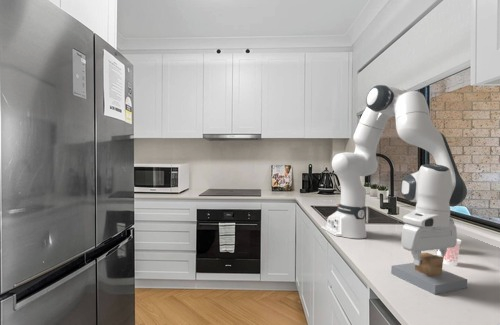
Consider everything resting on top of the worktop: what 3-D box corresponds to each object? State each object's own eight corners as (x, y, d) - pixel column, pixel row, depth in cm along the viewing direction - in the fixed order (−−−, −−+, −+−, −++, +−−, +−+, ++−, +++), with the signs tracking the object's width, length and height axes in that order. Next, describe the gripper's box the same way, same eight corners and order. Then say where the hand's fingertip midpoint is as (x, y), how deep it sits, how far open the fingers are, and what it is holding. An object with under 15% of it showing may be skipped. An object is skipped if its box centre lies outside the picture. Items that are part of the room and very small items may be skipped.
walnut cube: (414, 269, 87) (415, 253, 87) (425, 268, 89) (426, 252, 89) (430, 276, 82) (431, 259, 82) (441, 274, 84) (442, 258, 84)
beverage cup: (462, 265, 101) (465, 226, 101) (454, 267, 98) (457, 227, 97) (443, 259, 106) (446, 222, 106) (435, 261, 103) (438, 223, 102)
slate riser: (391, 273, 89) (391, 265, 89) (421, 268, 95) (421, 261, 95) (434, 294, 76) (435, 285, 76) (466, 287, 82) (467, 279, 82)
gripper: (443, 214, 92) (440, 256, 92) (398, 216, 84) (395, 262, 84) (464, 219, 86) (461, 263, 87) (418, 221, 78) (415, 270, 79)
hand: (428, 263), depth 85 cm, fingers open, 8 cm apart
